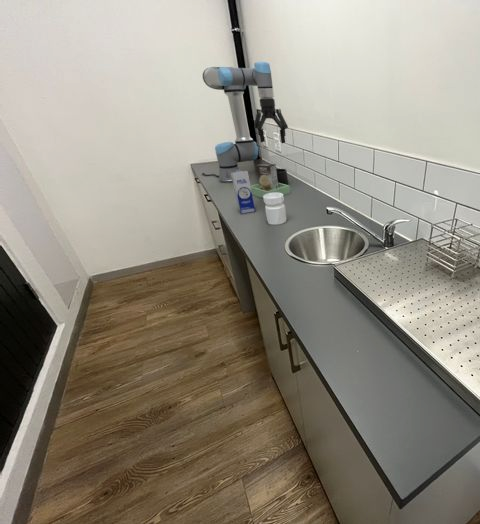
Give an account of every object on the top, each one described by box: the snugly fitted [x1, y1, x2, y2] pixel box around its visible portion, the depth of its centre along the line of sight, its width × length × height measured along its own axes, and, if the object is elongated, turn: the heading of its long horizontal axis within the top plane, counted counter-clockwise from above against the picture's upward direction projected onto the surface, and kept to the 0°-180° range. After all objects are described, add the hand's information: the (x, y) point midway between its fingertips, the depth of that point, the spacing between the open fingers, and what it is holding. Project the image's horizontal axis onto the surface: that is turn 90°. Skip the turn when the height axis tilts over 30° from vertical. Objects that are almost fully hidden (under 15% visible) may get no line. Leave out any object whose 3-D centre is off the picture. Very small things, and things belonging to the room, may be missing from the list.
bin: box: [250, 183, 291, 199], centre depth 170 cm, size 18×16×4 cm
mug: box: [276, 168, 289, 185], centre depth 186 cm, size 9×12×9 cm
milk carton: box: [231, 169, 256, 215], centre depth 141 cm, size 7×7×20 cm
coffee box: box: [255, 162, 279, 191], centre depth 167 cm, size 9×6×16 cm
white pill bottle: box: [262, 193, 287, 226], centre depth 131 cm, size 9×9×12 cm
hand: (272, 142), depth 162 cm, fingers open, 13 cm apart
